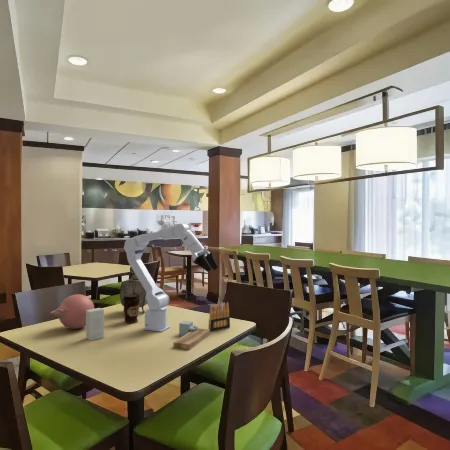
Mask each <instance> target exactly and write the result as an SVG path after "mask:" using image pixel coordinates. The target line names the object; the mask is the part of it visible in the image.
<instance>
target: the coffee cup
mask: <svg viewBox="0 0 450 450" xmlns="http://www.w3.org/2000/svg"><path fill="white" fill-rule="evenodd" d="M139 297H140V295H137V294H129V295H125V297H124V298H123V304H124V306H123V310H124V312H123V315H124V317H123V318H124V323H125V324H135V323H137V322H139V318H138V316H139V315H140V314H139V313H140V312H139V311H140V307H139V301H140V298H139Z"/></svg>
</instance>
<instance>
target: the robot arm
mask: <svg viewBox="0 0 450 450" xmlns="http://www.w3.org/2000/svg"><path fill="white" fill-rule="evenodd" d="M177 238H179V239H180V240H181V241H182V243H183V244H184V246H185V247H186V248H187V249H188V250H189V251H190V253H191V254H192V255H191V258H192V259H193V264H195V265H197V266H199V267H200V268H202V269H203V270H204V271H206V272H207V273H209V272H210V271H211V270H213V271H216V270H217V269H218V268H219V265H218V264H217V262H216V259H215V255H214V252H213V251H212V252H210V251H209V247H204V246H203V244H202V242H200V240H198V238H197V237H196V236H195V235H194V233H193V232H192V231H191V227H190V225H189V224H187V223H174V224H173V225H169V226H168V225H164V226H163V227H161V229H160V230H159V231H154V232H148V233H144V234H139V235H136V236H133V237H131V238H130V237H129V238H127V239H126V240H125V241H124V246H123V250H125V251H124V252H125V253H126V258H127V262H128V264H129V266H130V268H131V267H132V269H131V270H132V272H135V274H136V276H137V277H138V279H139V281H140V282H141V284H142V286H143V288H144V289H145V291H146V293H147V294H146V300H147V304H146V305H147V306H148V308H147V309H146V310H145V313H144V328H143V330H146V331H153V332H165V331H166V330H167V329H169V328H171V326H170V325H167V318H168V317H167V316H168V315H167V308H168V305H169V303H170V297H169V295H168V294H167V293H166V292H164V290H163V289H162V288H160V287H158V286H157V284H156V282H155V280H154V279H153V277H152V276H151V273H149V270H148V268H147V267H146V266H145V264H144V262H143V261H142V257H143V255H144V254H143V253H144V252H145V250H146V249H147V246H148V245H150V241H154V240H158V239H159V240H160V239H162V240H163V241H168V240H172V239H177Z"/></svg>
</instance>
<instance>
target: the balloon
mask: <svg viewBox="0 0 450 450" xmlns="http://www.w3.org/2000/svg"><path fill="white" fill-rule="evenodd" d="M90 309H95V304H94V302H93V300H92V299H91V298H90V297H88V296H87V295H84V294H80V293H78V294H72V295H69V296H67V297H66V298H64V300H62V302H61V303H60V304H59V307H56V309H55V310H53V311H50V312H49V313H50V315H54V316H55V317H56V318H58V320H59V322H60V323H61V325H63V326H64V327H66V328H67V329H70V330H72V329H73V330H78V329H81V328H85V327H86V310H90Z"/></svg>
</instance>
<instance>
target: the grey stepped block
mask: <svg viewBox="0 0 450 450" xmlns="http://www.w3.org/2000/svg"><path fill="white" fill-rule="evenodd" d="M178 324H179V327H178V335H179V336H184V335H185V334H187V333H188V332H190V331H191V330H192V331H194V330H196V329H197V328H199V327H198V326H197V325H196V324H194V322H193V321H189V320H188V321H187V320H183V321H181V322H179V323H178Z"/></svg>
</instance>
